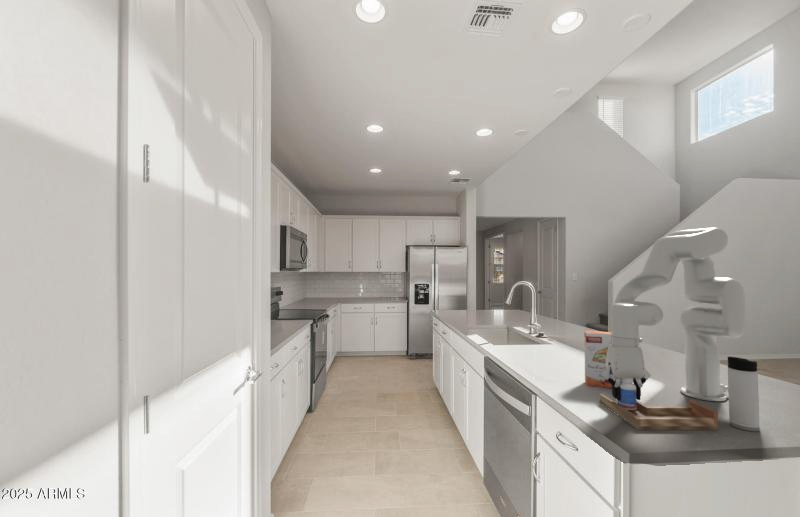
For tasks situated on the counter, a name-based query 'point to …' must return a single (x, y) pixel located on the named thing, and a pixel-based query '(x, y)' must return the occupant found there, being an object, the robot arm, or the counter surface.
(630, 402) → the pill bottle
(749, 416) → the travel mug
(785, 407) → the counter surface
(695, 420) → the channel track
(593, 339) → the cracker box
